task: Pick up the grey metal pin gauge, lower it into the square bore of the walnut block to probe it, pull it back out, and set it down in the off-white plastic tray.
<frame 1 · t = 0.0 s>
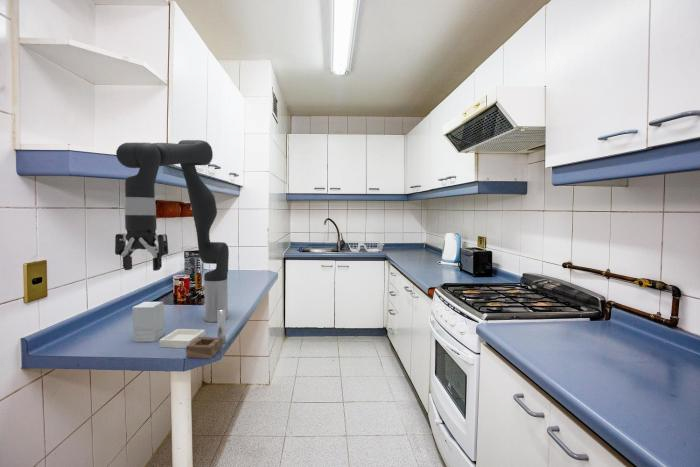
hand: (142, 269, 94), 29 cm above the worktop, fingers open, 8 cm apart
tray: (183, 341, 115), on the worktop
pin gauge: (221, 343, 115), on the worktop
supplement box: (149, 338, 118), on the worktop
bore block: (204, 352, 107), on the worktop
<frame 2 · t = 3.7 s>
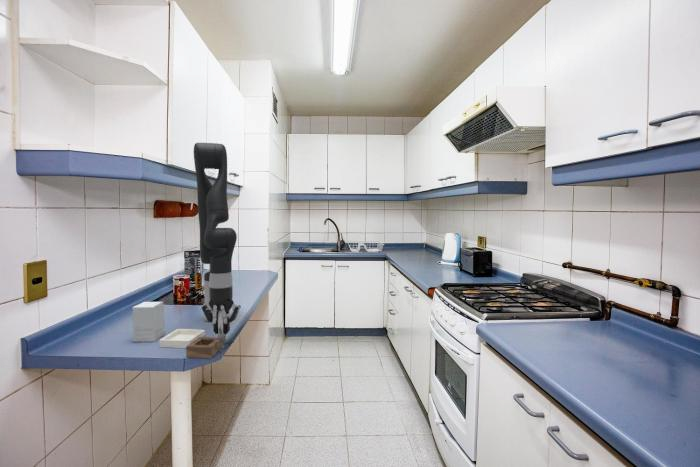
hand: (221, 333, 114), 4 cm above the worktop, fingers closed on pin gauge, 2 cm apart
pin gauge: (221, 343, 115), on the worktop, touching gripper
everything else where it was.
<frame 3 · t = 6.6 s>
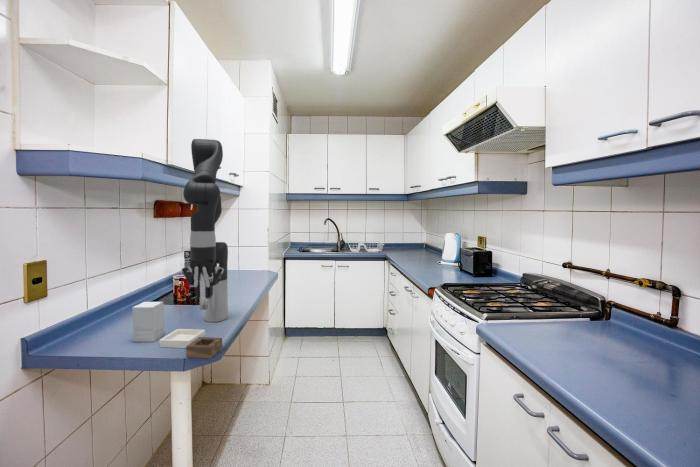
hand: (204, 297, 106), 18 cm above the worktop, fingers closed on pin gauge, 2 cm apart
pin gauge: (204, 308, 106), point 15 cm above the worktop, touching gripper
everything else where it was.
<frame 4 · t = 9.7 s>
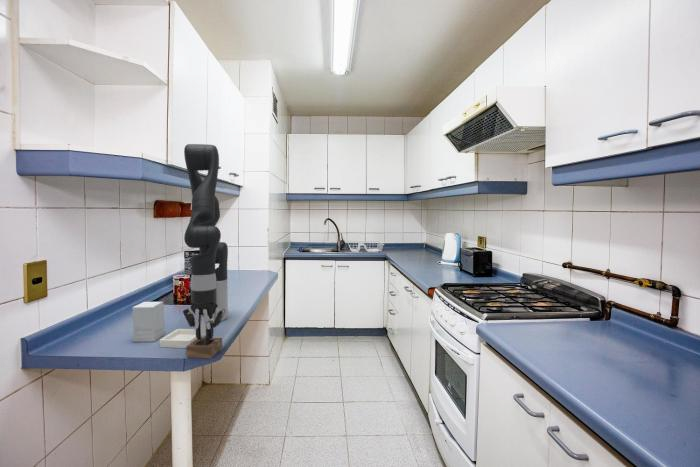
hand: (204, 338, 106), 5 cm above the worktop, fingers closed on pin gauge, 2 cm apart
pin gauge: (204, 349, 107), point 1 cm above the worktop, touching gripper
everything else where it was.
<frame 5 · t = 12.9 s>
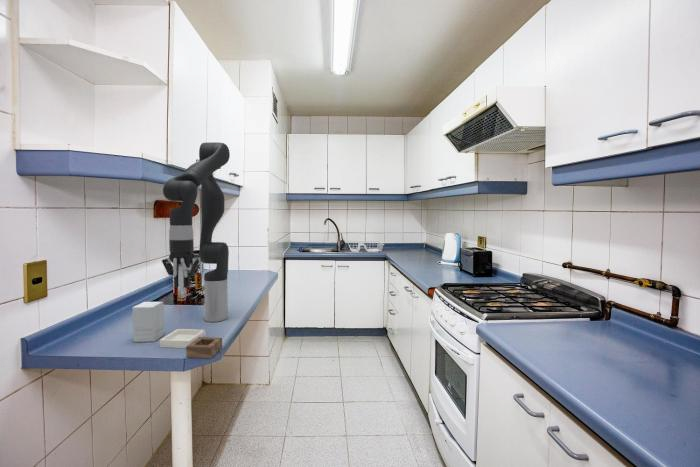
hand: (182, 287, 114), 20 cm above the worktop, fingers closed on pin gauge, 2 cm apart
pin gauge: (182, 297, 114), point 16 cm above the worktop, touching gripper
everything else where it was.
when the fingers open (5 cm above the worktop, at t = 15.6 s): pin gauge stays where it is, resting on tray.
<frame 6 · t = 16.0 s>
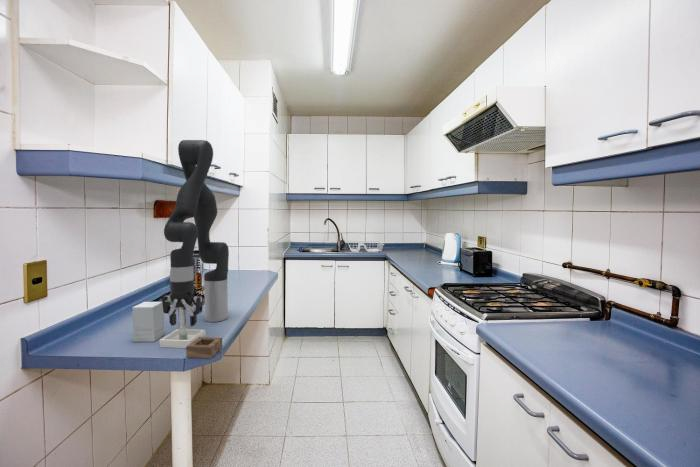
hand: (183, 325, 115), 6 cm above the worktop, fingers open, 6 cm apart
pin gauge: (183, 339, 115), point 1 cm above the worktop, touching tray
everything else where it was.
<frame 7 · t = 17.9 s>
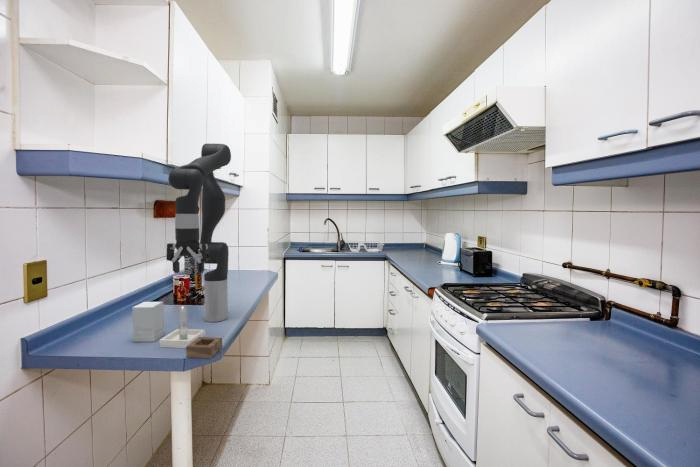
hand: (188, 273, 114), 25 cm above the worktop, fingers open, 8 cm apart
nothing on the worktop moved.
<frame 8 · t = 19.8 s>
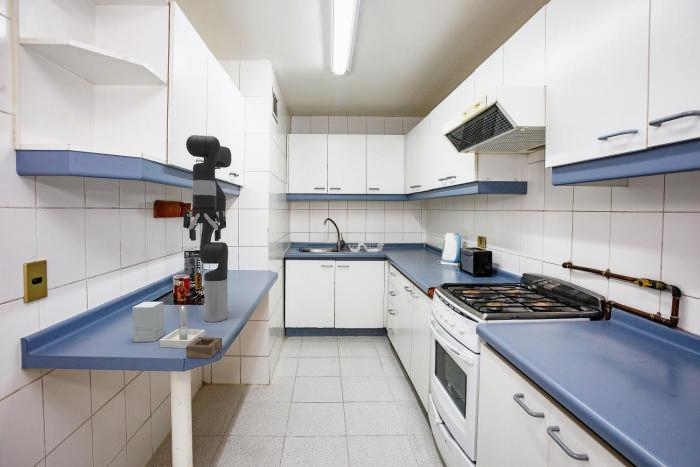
hand: (205, 240, 114), 36 cm above the worktop, fingers open, 8 cm apart
nothing on the worktop moved.
at the end: pin gauge inside the target area on the tray (0.1 cm from its centre), point 0.8 cm above the tray's base; the gripper is holding nothing; bore block moved 0.0 cm from its start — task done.
